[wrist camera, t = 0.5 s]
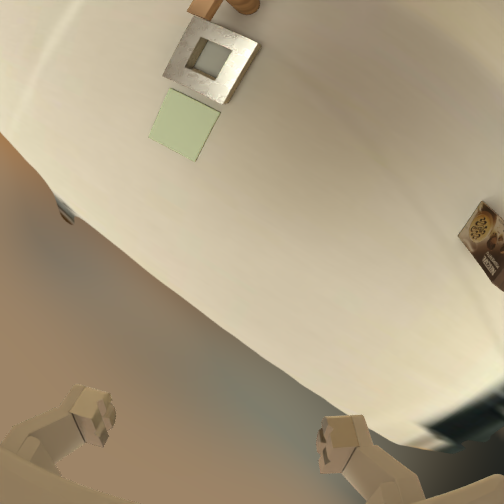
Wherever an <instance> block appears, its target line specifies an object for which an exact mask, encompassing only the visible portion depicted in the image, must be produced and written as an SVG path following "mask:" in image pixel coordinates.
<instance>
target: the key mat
mask: <svg viewBox="0 0 504 504" xmlns="http://www.w3.org/2000/svg"><path fill="white" fill-rule="evenodd" d="M220 113H221V112H219V111H217V110H215V109H213V108H211V107H209V106H207V105H205V104H203V103H201V102H199V101H197V100H195V99H193V98H191V97H189V96H187V95H185V94H183V93H181V92H179V91H176V90H174V89H172V88H170V89H169V91H168V93H167V95H166V97H165V100H164V102H163V104H162V106H161V108H160V111H159V113H158V115H157V118H156V120H155V122H154V125H153V127H152V129H151V132H150V134H149V137H148V138H150V139H152V140H154V141H156V142H158V143H160V144H162V145H164V146H166V147H168V148H169V149H171V150H173V151H175V152H177V153H179V154H181V155H182V156H184V157H186V158H188V159H190V160H192V161H194V162H195V161H196V159H197V157H198V155H199V153H200V151H201V149H202V147H203V145H204V143H205V142H206V140H207V138H208V136H209V134H210V132H211V130H212V128H213V126H214V124H215V122H216V120H217V118H218V117H219V115H220Z"/></svg>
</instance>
